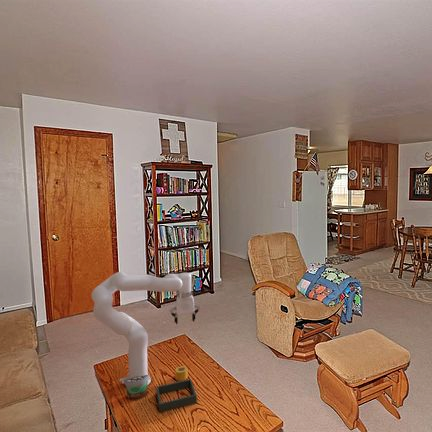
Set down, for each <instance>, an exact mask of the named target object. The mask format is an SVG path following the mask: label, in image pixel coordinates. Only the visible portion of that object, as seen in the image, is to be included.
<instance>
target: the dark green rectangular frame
mask: <svg viewBox="0 0 432 432" xmlns="http://www.w3.org/2000/svg"><path fill="white" fill-rule="evenodd" d="M187 388H189V389H190V392H191V395H188V396H184V397H180V398H176V399H172V400H168V401H164V402H162V401H161V395H162V394H167V393H170V392H175V391H178V390H183V389H187ZM156 398H157V405H158V411H159V413H162V412H165V411H166V412H167V411H170V410H174V409H177V408H182V407H185V406H186V407H187V406H188V405H193V404H197V393H196V389H195V386H194V384H193V380H192V379H191V378H190V379H185V380H183V381H176V382H171V383H167V384H163V385H158V386H156Z"/></svg>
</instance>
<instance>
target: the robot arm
mask: <svg viewBox="0 0 432 432" xmlns="http://www.w3.org/2000/svg"><path fill="white" fill-rule="evenodd" d="M117 291H119V292H135V291H136V292H138V291H148V292H159V293H168V292H176V293H175V296H176V301H175V306H174V307H172V308H171V309H169V313H170V314H171V316H172V317H174V323H175V325H178V323H179V321H178V317H179V316H182V315H187V314H188V315H189V314H192V315H191V321H192V322H195V321H196V315H197V313H198V312H199V311H200V310H201V309H200V308H201V306H200V305H199V304H198V305H197V304H195V299H194V295H192V294H193V293H192V273H190V272H180V273H168V274H166V275H164V277H157V276H154V275H151V274H127V273H125V272H123V271H117V272H115V273H113V274H112V275H110V276H109V277H107V278H106V279H105V280H104V281H102V282H101V283H100V284H99V285H97V286H96V287H95V288H94V289H93V290H92V292H91V299H92V301H93V303H94V305H93V310H92V311H93V316H94V318H95V319H96V320H97V321H98V322H100V323H101V324H103V325H104V326H105V327H106V328H108V329H109V330H110V331H112V332H113V333H115V334H116V335H119V336H124V337H125V339H126V340H127V341H128V350H127V357H128V358H127V361H128V374H127V376H125V377H122V378H119V383H121V384H122V385H125V384H124V379H125V380H127V379H131V378H134V377H138V376H145V375H148V374H149V371H148V369H149V368H148V367H149V366H148V343H149V334H148V332H147V330H146V329H145V328H144V326H143V325H141V323H140V322H138V321H137V320H136V319H134V318H133V317H131V315H129V314H127V313H125V312H123V311H118V310H116V309H115V308H114V307H113V302H114V296H113V294H114V293H116V292H117ZM174 311H175V312H174ZM151 381H152V378H151V376H150V375H149V380H148V384H147V386H149V384H151Z"/></svg>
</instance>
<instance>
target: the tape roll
mask: <svg viewBox="0 0 432 432" xmlns="http://www.w3.org/2000/svg"><path fill="white" fill-rule="evenodd" d="M174 371H175V373H174V374H175V375H174V377H175V378H174V379H175V381H176V382H180V381H185V380H188V376H189V375H188V374H189V373H188V371H189V370H188V367H187V366H185V365H181V366H178V367H176V368H175V370H174Z"/></svg>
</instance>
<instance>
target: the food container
mask: <svg viewBox="0 0 432 432" xmlns="http://www.w3.org/2000/svg"><path fill="white" fill-rule="evenodd" d="M149 376H150V373H148V375H145V376H138V377H134V378H131V379H127V380H125V379H124V384H123V385H125V391H126V397H127V399H129V400H140V399H142V398H144V396H146V395H147V393H148V385H149V384H148V380H149ZM147 384H148V385H147Z"/></svg>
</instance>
